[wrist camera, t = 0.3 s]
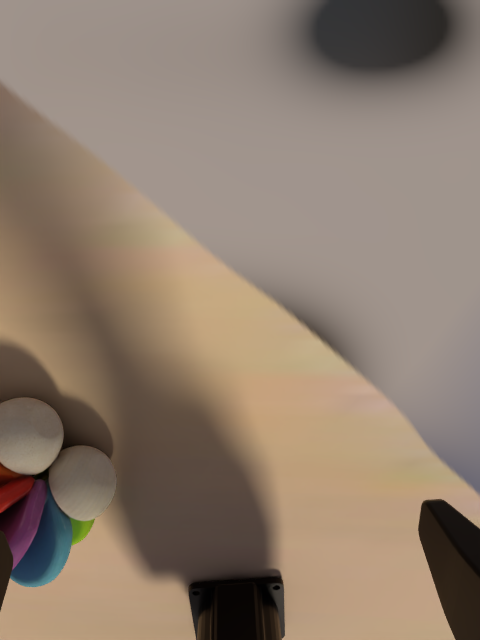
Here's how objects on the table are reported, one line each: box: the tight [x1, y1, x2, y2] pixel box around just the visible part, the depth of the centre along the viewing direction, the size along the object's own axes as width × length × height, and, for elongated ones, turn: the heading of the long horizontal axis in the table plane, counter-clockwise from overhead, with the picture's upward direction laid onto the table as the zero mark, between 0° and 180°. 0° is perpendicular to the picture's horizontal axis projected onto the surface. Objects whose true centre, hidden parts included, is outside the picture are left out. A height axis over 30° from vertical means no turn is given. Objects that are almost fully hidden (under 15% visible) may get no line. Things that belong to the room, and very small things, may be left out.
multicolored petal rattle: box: [0, 397, 117, 587], centre depth 22 cm, size 8×10×7 cm
